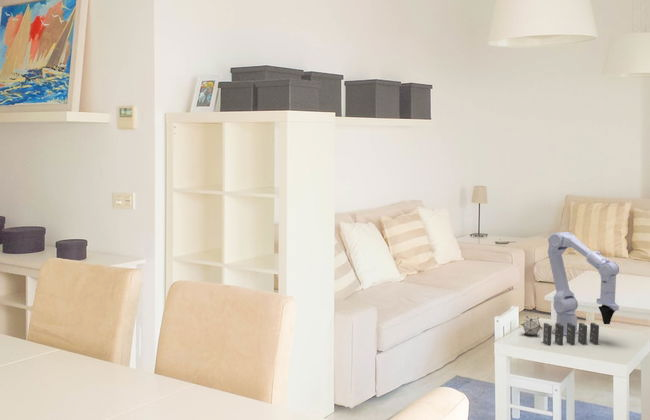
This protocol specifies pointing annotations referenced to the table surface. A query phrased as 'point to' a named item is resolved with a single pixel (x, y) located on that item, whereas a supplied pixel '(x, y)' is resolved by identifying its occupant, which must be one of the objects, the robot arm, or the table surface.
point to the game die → (531, 326)
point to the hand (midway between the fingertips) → (606, 323)
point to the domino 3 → (570, 334)
